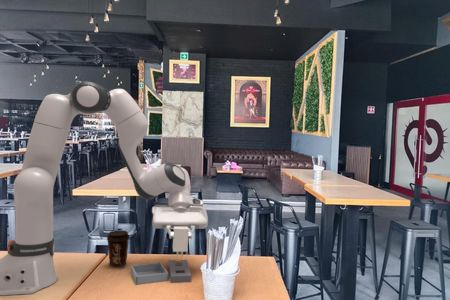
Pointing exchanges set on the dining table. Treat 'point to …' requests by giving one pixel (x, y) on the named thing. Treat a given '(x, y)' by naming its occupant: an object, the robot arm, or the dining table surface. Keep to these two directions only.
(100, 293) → the dining table surface
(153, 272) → the tray
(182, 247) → the charger
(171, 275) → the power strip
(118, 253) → the coffee cup
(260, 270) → the dining table surface
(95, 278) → the dining table surface
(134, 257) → the dining table surface
